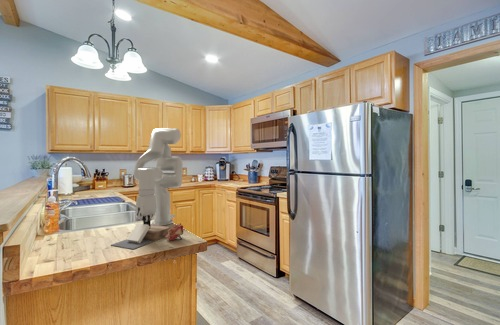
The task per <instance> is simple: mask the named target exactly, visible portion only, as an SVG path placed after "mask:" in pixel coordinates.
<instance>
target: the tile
mask: <svg viewBox="0 0 500 325" xmlns="http://www.w3.org/2000/svg"><path fill="white" fill-rule="evenodd" d="M149 228H150V226H149V225H146V224H143V223H138V222H137V223H136V224H135V226H134V227H133V229H132V230H131V232H130V233H129V235H128V236H127V238H126V239H127V240H128V241H129V242H134V243H141V241H142V239H143V238H144V236H145V234H146V233H147V231H148V230H149Z"/></svg>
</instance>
